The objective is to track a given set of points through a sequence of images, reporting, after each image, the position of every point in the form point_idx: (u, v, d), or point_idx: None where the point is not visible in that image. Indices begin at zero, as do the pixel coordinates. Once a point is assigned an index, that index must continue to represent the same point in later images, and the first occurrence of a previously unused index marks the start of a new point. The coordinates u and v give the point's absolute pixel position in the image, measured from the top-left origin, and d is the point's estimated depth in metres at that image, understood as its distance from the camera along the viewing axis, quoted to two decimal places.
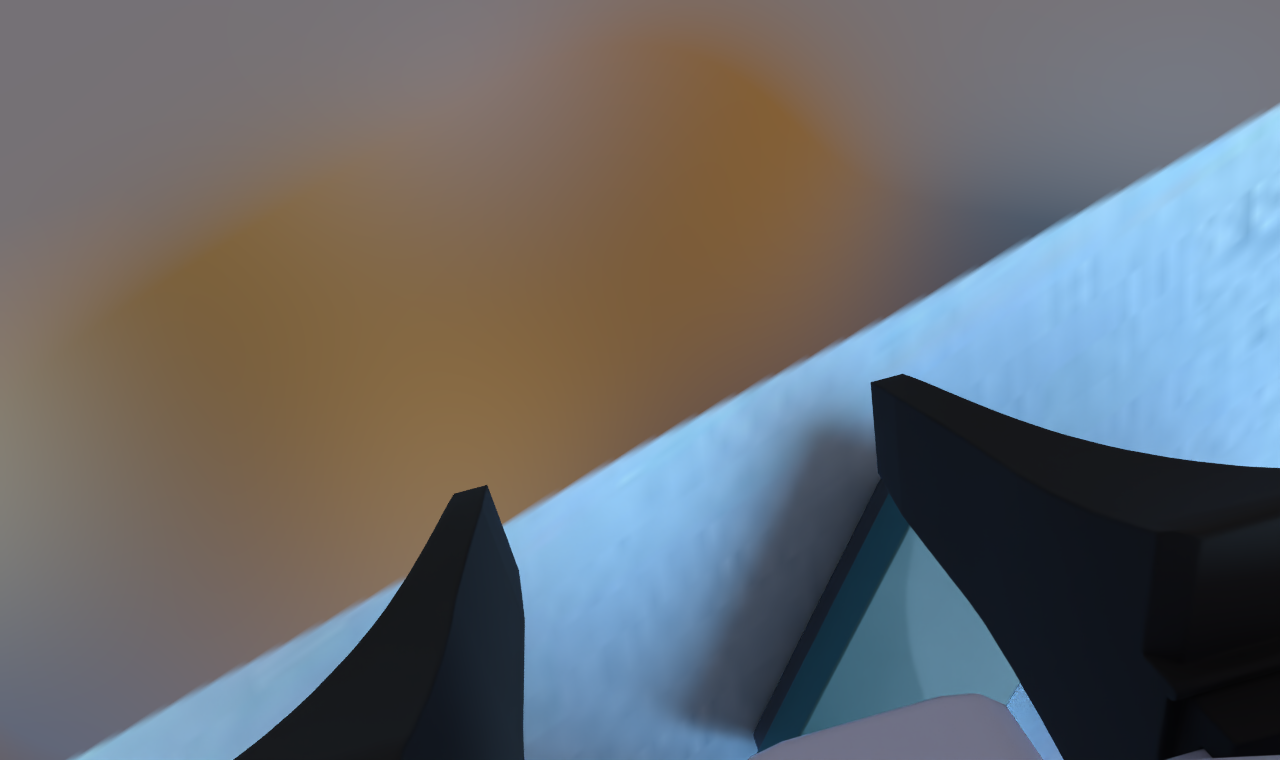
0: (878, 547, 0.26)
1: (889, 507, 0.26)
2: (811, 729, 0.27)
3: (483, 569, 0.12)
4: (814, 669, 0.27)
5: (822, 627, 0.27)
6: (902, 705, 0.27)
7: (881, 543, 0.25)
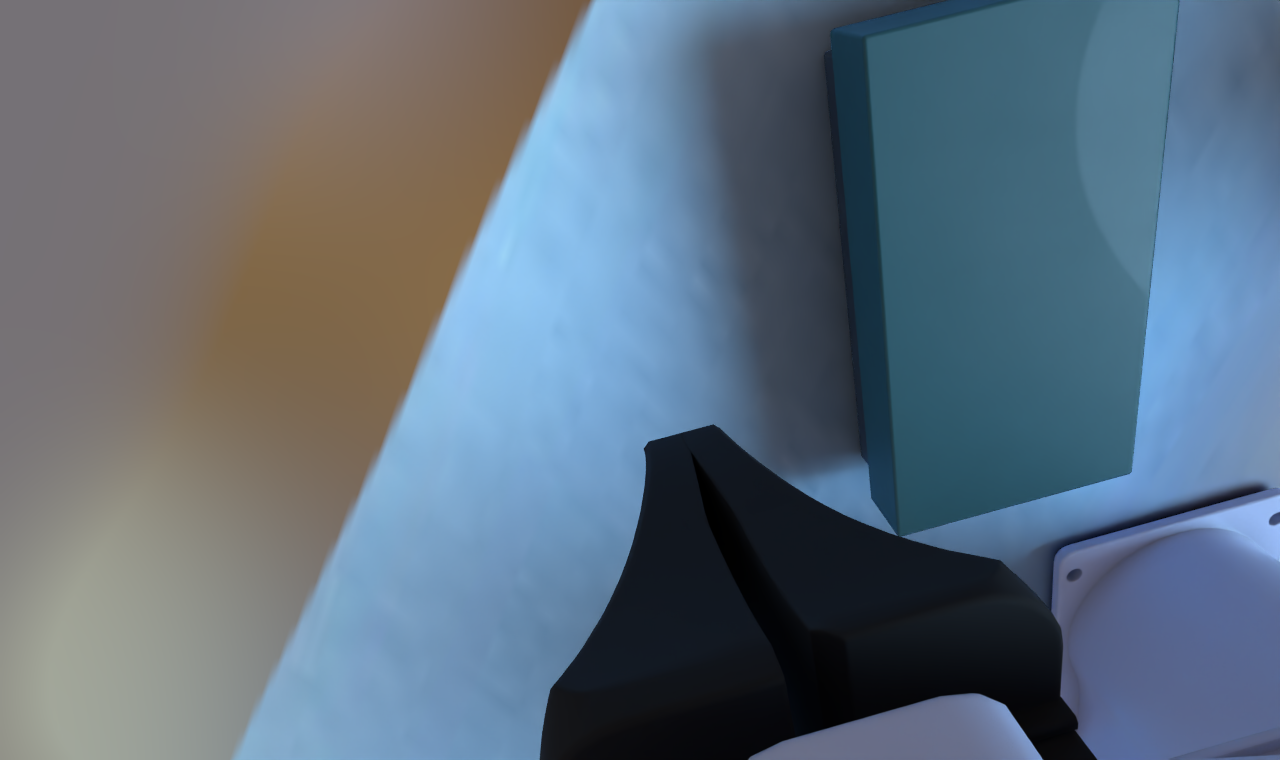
0: (854, 145, 0.17)
1: (840, 83, 0.17)
2: (901, 418, 0.19)
3: None
4: (869, 346, 0.20)
5: (854, 291, 0.20)
6: (1005, 327, 0.19)
7: (854, 137, 0.17)
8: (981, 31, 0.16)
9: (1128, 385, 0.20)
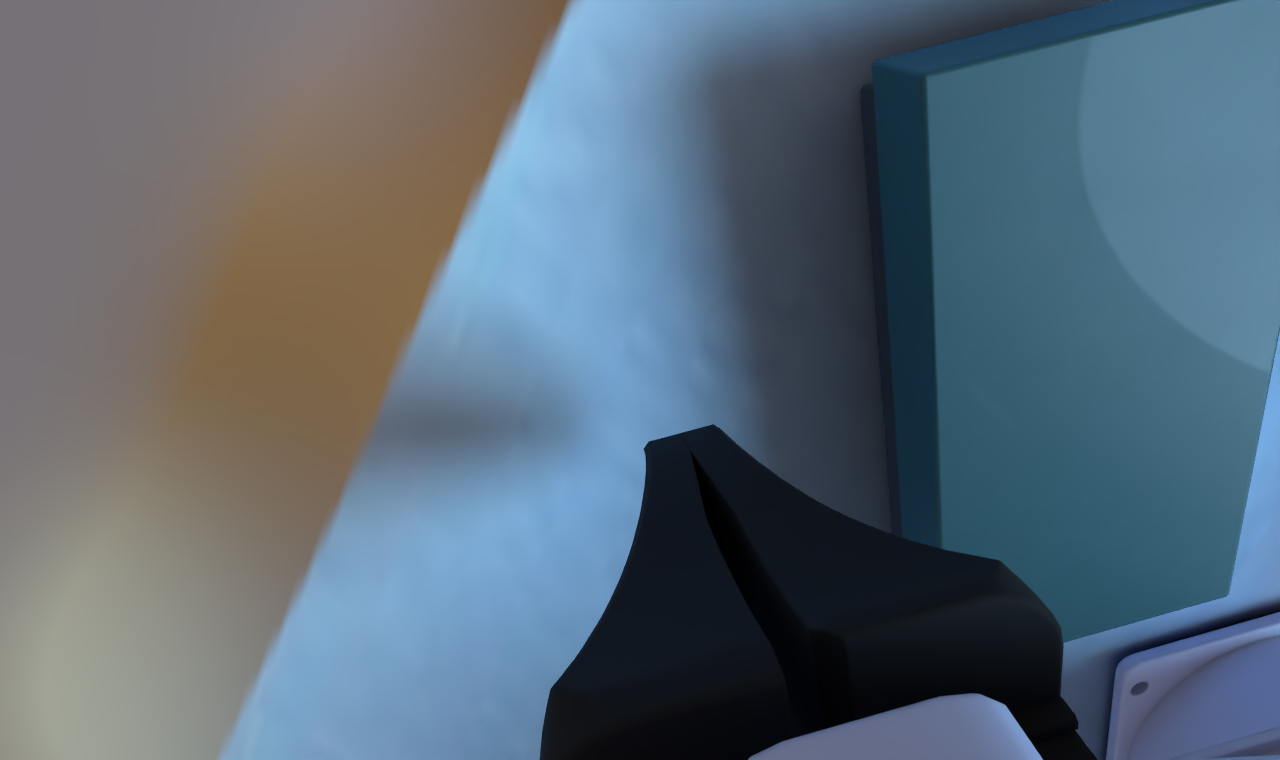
0: (902, 210, 0.13)
1: (885, 130, 0.13)
2: (953, 542, 0.15)
3: None
4: (913, 452, 0.16)
5: (894, 383, 0.16)
6: (1087, 434, 0.15)
7: (902, 200, 0.13)
8: (1078, 66, 0.12)
9: (1233, 497, 0.16)
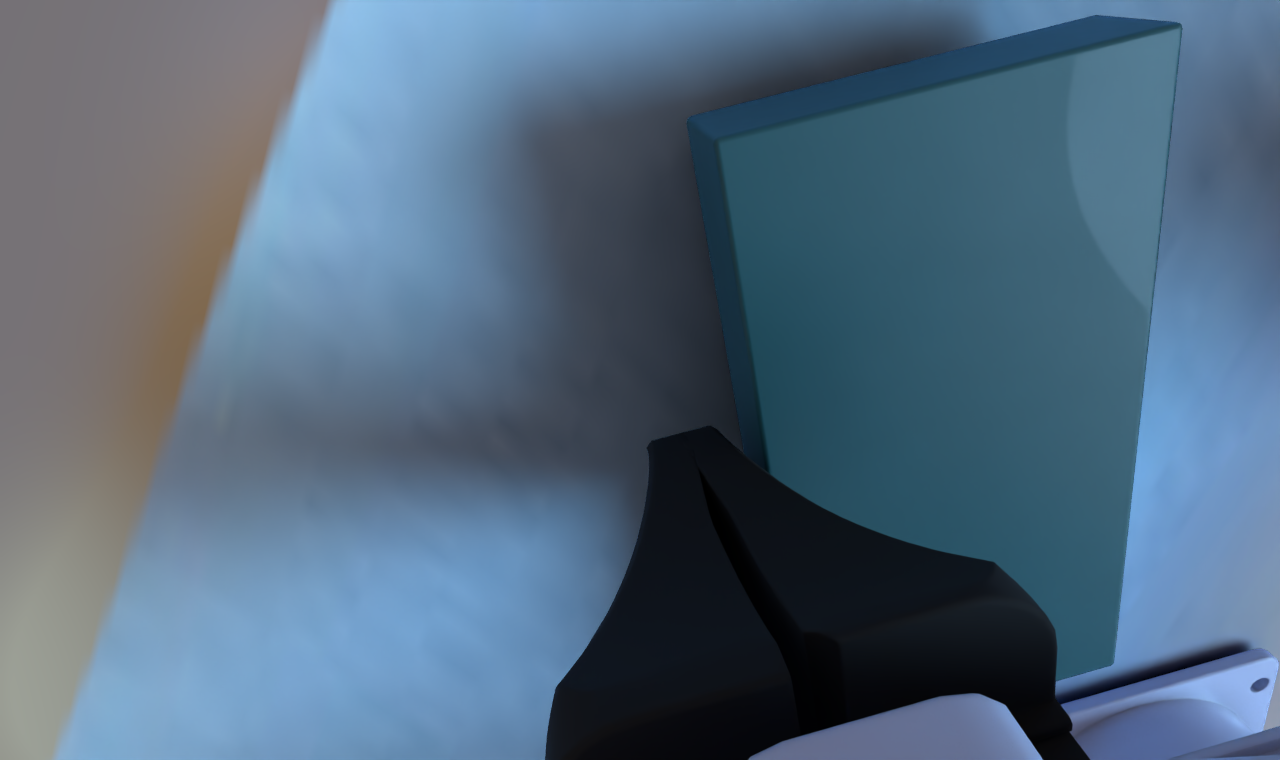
0: (723, 276, 0.12)
1: (703, 191, 0.12)
2: None
3: None
4: None
5: (744, 448, 0.15)
6: (941, 507, 0.14)
7: (722, 266, 0.12)
8: (889, 130, 0.11)
9: (1108, 567, 0.15)
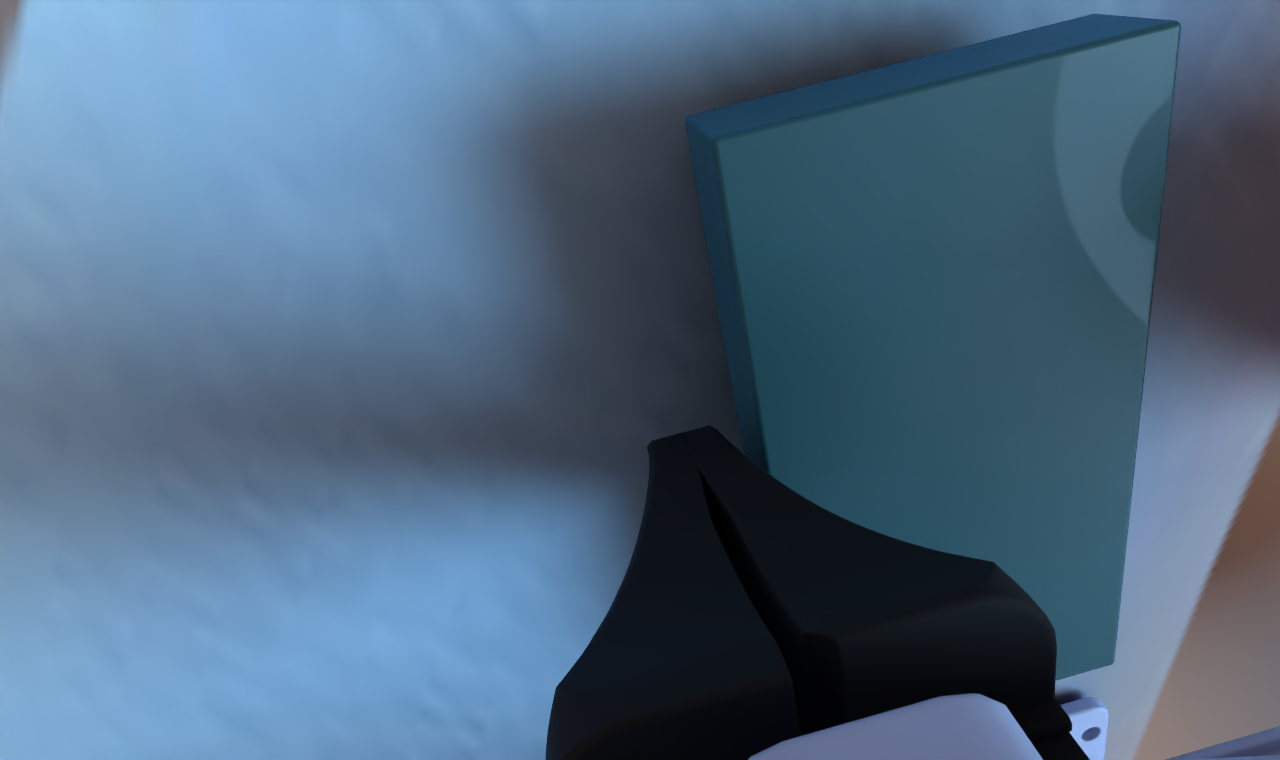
0: (722, 276, 0.12)
1: (701, 190, 0.12)
2: None
3: None
4: None
5: (743, 448, 0.15)
6: (941, 506, 0.14)
7: (720, 266, 0.12)
8: (888, 129, 0.11)
9: (1108, 565, 0.15)
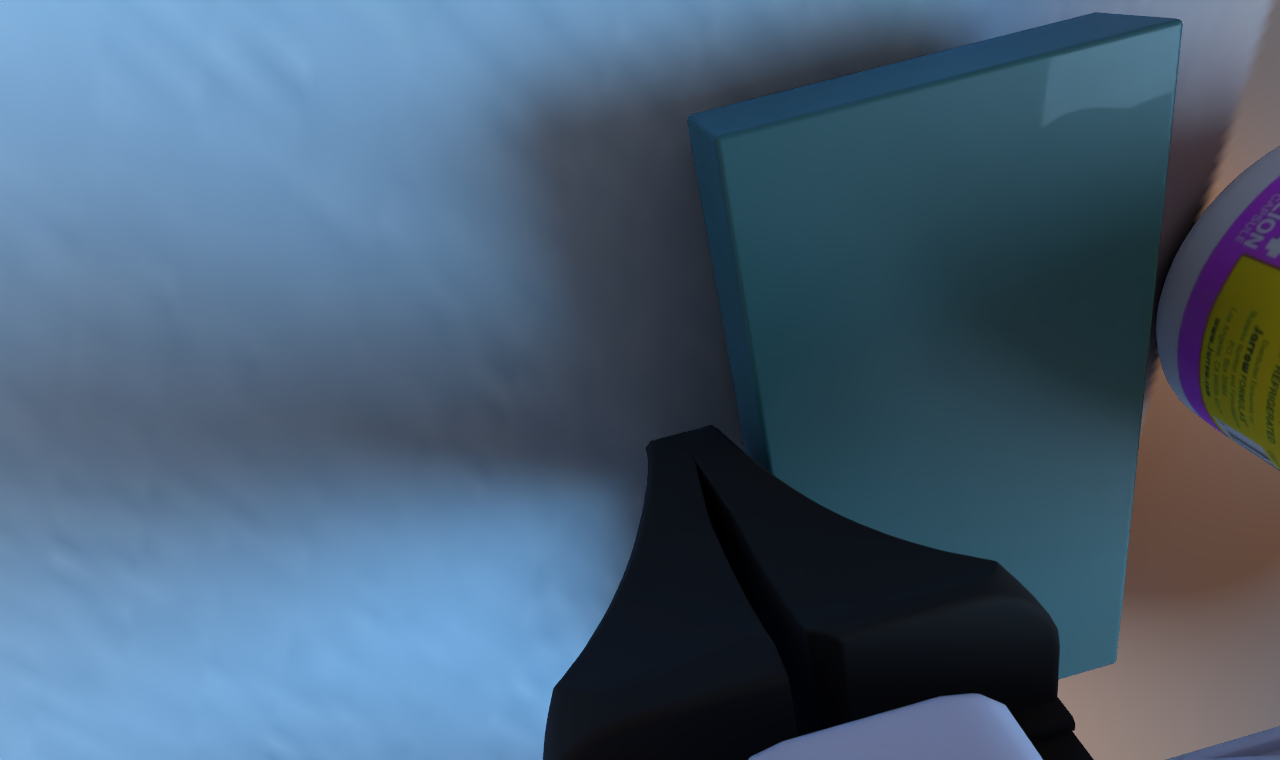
0: (724, 274, 0.12)
1: (703, 189, 0.12)
2: None
3: None
4: None
5: (745, 447, 0.15)
6: (943, 504, 0.14)
7: (723, 265, 0.12)
8: (890, 127, 0.11)
9: (1110, 564, 0.15)
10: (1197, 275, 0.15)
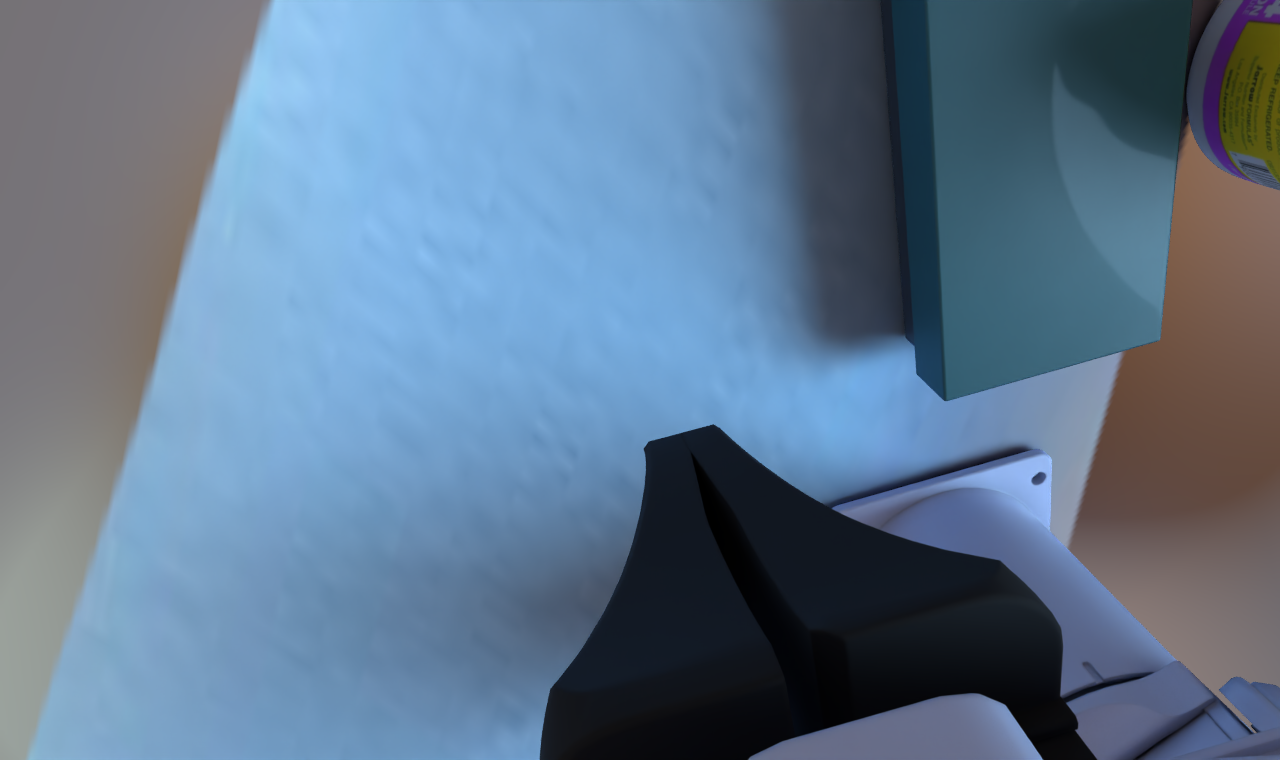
0: (907, 17, 0.19)
1: None
2: (949, 281, 0.21)
3: None
4: (918, 216, 0.21)
5: (903, 165, 0.21)
6: (1045, 192, 0.20)
7: (908, 9, 0.19)
8: None
9: (1157, 251, 0.22)
10: (1216, 45, 0.21)
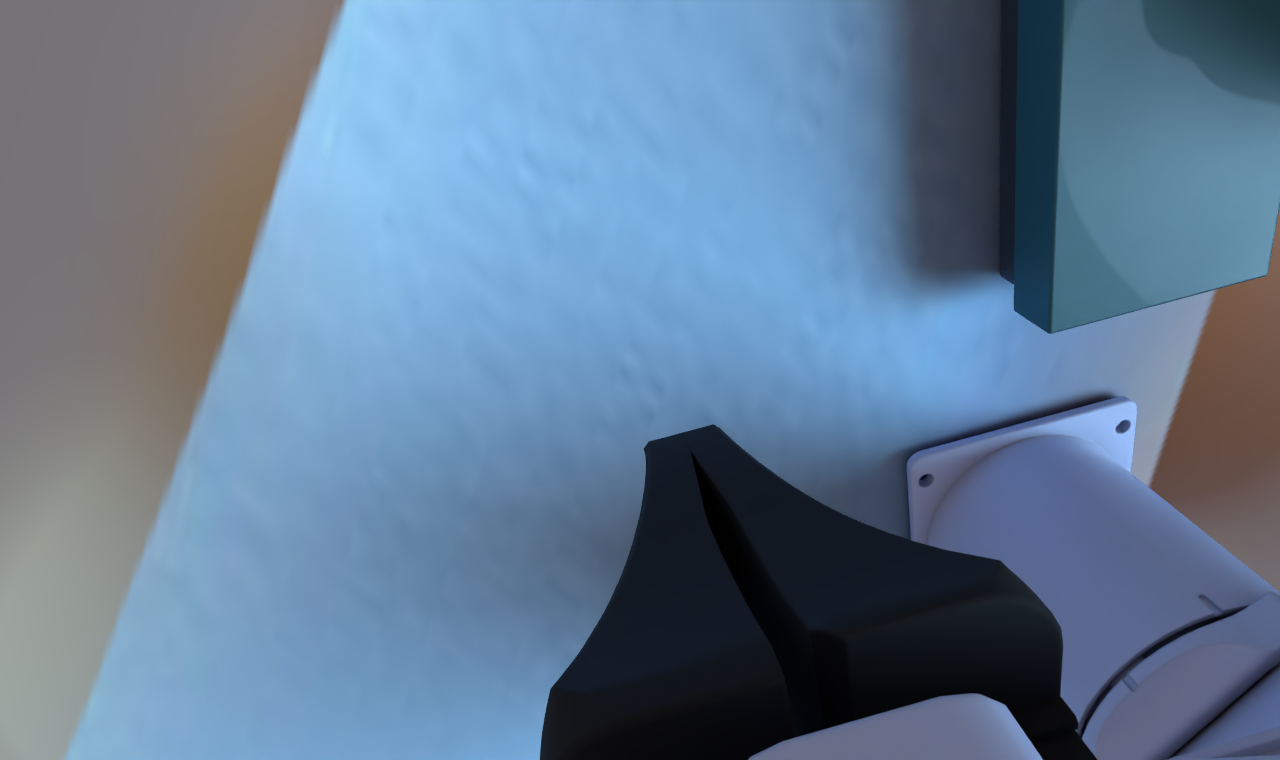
0: None
1: None
2: (1064, 204, 0.21)
3: None
4: (1033, 138, 0.21)
5: (1019, 86, 0.21)
6: (1167, 112, 0.20)
7: None
8: None
9: (1273, 179, 0.21)
10: None
